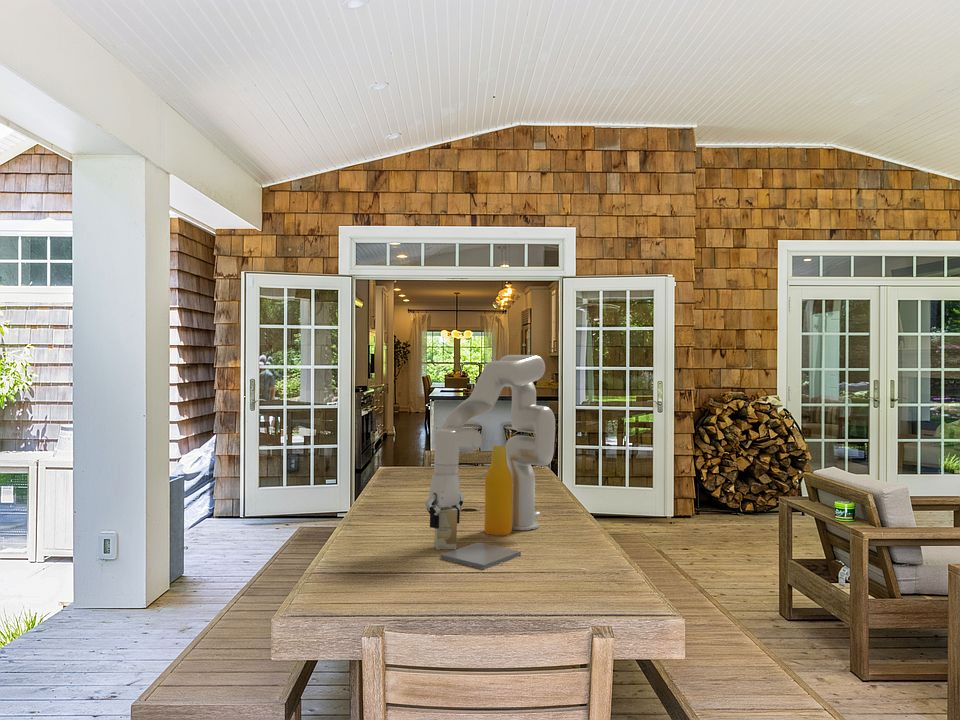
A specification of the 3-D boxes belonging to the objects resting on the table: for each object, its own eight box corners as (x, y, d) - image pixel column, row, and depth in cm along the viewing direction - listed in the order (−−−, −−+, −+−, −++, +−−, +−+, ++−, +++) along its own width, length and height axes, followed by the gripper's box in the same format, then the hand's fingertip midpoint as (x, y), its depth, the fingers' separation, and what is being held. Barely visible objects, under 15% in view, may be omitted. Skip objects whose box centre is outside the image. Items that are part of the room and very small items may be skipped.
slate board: (478, 546, 219) (478, 542, 219) (520, 555, 209) (520, 551, 209) (440, 558, 205) (440, 554, 205) (484, 569, 195) (484, 565, 195)
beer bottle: (509, 536, 231) (510, 448, 231) (481, 535, 233) (483, 447, 233) (513, 530, 240) (514, 445, 240) (487, 528, 242) (488, 444, 242)
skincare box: (436, 550, 214) (437, 510, 214) (434, 546, 218) (434, 507, 218) (457, 549, 215) (457, 509, 215) (454, 545, 219) (454, 506, 219)
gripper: (454, 465, 226) (453, 519, 225) (418, 470, 212) (416, 527, 212) (473, 468, 221) (471, 522, 221) (437, 473, 207) (435, 531, 207)
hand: (444, 525), depth 216 cm, fingers open, 9 cm apart
